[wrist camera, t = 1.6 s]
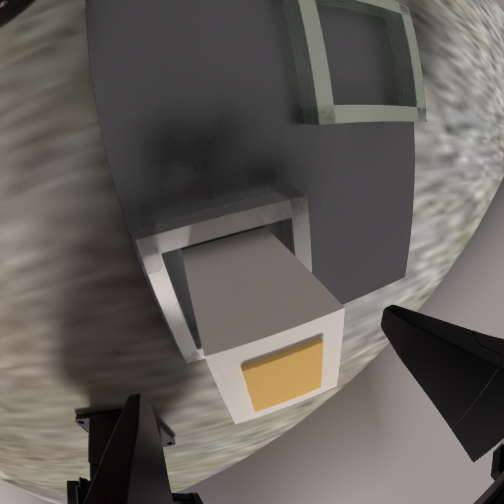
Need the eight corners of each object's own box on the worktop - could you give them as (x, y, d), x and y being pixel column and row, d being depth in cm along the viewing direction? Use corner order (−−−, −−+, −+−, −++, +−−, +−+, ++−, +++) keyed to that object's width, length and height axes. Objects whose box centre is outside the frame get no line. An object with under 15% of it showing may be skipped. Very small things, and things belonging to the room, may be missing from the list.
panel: (399, 273, 19) (417, 286, 17) (180, 351, 15) (184, 376, 14) (386, 1, 10) (409, -6, 8) (88, 5, 6) (78, -13, 5)
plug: (275, 295, 15) (339, 389, 9) (203, 317, 14) (236, 428, 8) (266, 227, 13) (348, 311, 7) (181, 250, 12) (206, 361, 6)
